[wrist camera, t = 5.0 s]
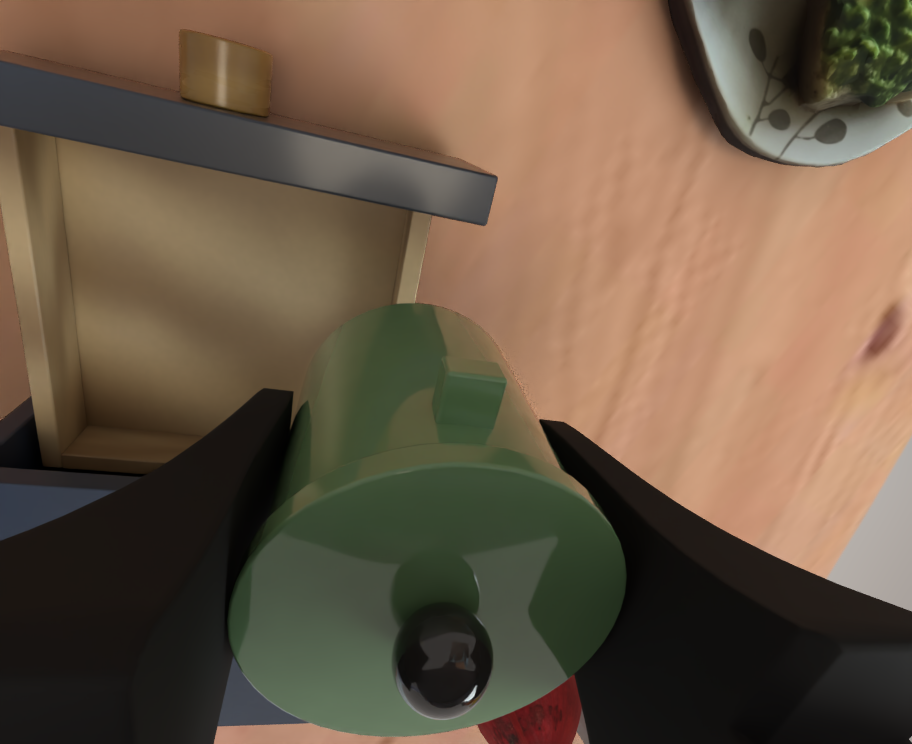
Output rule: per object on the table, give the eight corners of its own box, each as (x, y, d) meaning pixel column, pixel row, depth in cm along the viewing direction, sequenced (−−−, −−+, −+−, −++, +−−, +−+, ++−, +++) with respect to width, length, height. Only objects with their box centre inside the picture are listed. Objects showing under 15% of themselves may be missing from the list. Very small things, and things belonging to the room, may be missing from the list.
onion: (439, 637, 29) (460, 805, 22) (509, 579, 28) (557, 738, 20) (505, 669, 31) (544, 830, 24) (573, 618, 30) (635, 771, 23)
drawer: (-2, -10, 13) (-236, -90, 8) (470, 113, 16) (514, 111, 11) (57, 416, 19) (-59, 526, 14) (400, 448, 22) (408, 548, 17)
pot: (284, 496, 14) (198, 865, 7) (306, 247, 11) (195, 466, 4) (483, 510, 15) (573, 831, 8) (551, 291, 12) (776, 511, 5)
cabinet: (58, 372, 19) (-73, 478, 13) (406, 411, 22) (417, 510, 16) (87, 590, 23) (0, 734, 18) (367, 597, 26) (366, 722, 21)
